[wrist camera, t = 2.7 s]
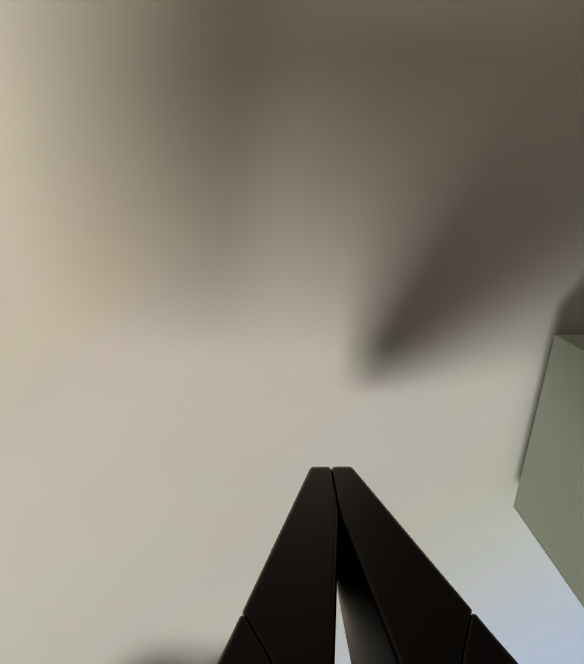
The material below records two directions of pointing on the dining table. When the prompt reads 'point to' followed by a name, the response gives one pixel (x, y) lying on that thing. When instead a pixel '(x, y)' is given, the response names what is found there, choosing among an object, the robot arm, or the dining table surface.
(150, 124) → the dining table surface
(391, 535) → the robot arm
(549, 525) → the cart
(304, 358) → the dining table surface
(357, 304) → the dining table surface
